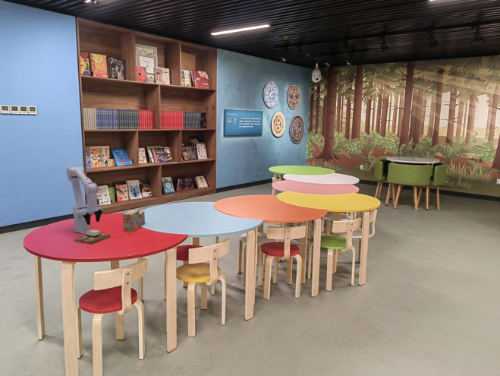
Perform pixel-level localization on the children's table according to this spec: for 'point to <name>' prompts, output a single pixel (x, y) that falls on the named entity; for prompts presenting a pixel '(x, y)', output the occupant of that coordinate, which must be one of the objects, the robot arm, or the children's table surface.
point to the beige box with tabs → (92, 233)
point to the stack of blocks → (133, 220)
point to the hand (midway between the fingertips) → (93, 223)
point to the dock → (92, 240)
